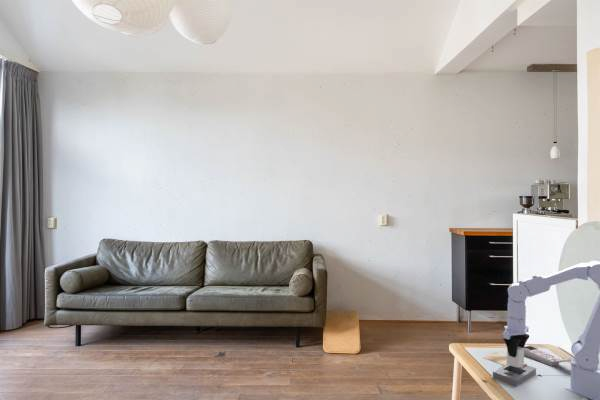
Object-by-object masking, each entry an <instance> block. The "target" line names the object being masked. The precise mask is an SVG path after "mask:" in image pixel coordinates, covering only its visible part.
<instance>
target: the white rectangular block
mask: <svg viewBox="0 0 600 400" xmlns="http://www.w3.org/2000/svg"><path fill="white" fill-rule="evenodd" d="M506 356H507V364H510V365H512V366H515V367H518V368H519V367H521V366H523V365H524V363H525V355H524V348H521V347H518V348H517V354H516V357H512V356H509V354H508V349H507V348H506Z"/></svg>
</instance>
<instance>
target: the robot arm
mask: <svg viewBox="0 0 600 400" xmlns="http://www.w3.org/2000/svg"><path fill="white" fill-rule="evenodd" d="M589 278H590V280H591V281H593V282H594V283H595V285H596V286H597V287H596V288H598V289H599V291H600V260H598V259H595V260H588V261H587V262H581V263H577V264H576V265H572V266H570V267H568V268H565V269H563V270H560V271H557V272H555V273H553V274H552V273H551V274H550V275H547V276H544V275H542V274H540V275H539V274H538V275H536V274H534V275H532V276H531V277H530V278H527V279H524V280H521V279H520V280H518V282H513V283H511V284H510V285H509V286H508V288H507V294H508V298H507V316H506V317H507V318H506V325H504V327H503V329H504V331H503V333H502V339H503V341H504V343H505V345H506V350H507V349H508V354H509V356H512V357H516V354H517V348H518V347H521V348H524V346H525V345H526V343H527V341H528V340H529V338H530V334H527V333H529V328H530V327H529V326H528V325H526V317H527V316H526V312H527V311H526V310H527V306H526V300H527V297H535V296H537V295H540V294H543V293H545V292H548V291H550V289H551V287H552V286H554V285H559V284H561V283H565V282H568V281H571V280H574V279H579V280H584V281H589ZM577 339H578V340H577V341H575V342H573V344H571V348H570V350H571V353H572V355H573V356H574V357H572V358H573V360H571V361H570V385H567V386H566V387H565V388H564V389H565V390H567V391H569V392H572V393H576V394H578V395H581V396H583V397H585V398H587V399H589V400H600V369H599V364H600V359H599V354H600V294H599V295H598V297H597V300H596V303H595V305H594V307H593V309H592V312H591V314H590V316H589V318H588V321H587V322H586V326H585V328H584V331H583V333H582V334H580V335H579V337H578V338H577Z"/></svg>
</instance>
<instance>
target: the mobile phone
mask: <svg viewBox="0 0 600 400" xmlns="http://www.w3.org/2000/svg"><path fill="white" fill-rule="evenodd" d="M524 357H528V358H530V359H532V360H534V361H537V362H539V363H542V364H544V365H547V366H550V367H553V366H558V365H559V364H560V363H566V362H571V360H573V358H574V357H572V358H571V357H570V358H564V359H562V358H559V357H556V356H555V355H553V354H549V353H547V352H545V351H543V350H540V349H538V347H534V346H532V345H528V344H525V346H524Z"/></svg>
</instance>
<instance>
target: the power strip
mask: <svg viewBox="0 0 600 400" xmlns="http://www.w3.org/2000/svg"><path fill="white" fill-rule="evenodd" d="M535 375H537V368H536V367H533V366H530V365H528V363H526V362H524V365H523V366H521V367H519V368H518V367H515V366H512V365H510V364H506V365H501V367H499V368H497V369H495V370H493V371H492V378H493V379H496V380H498V381H501V382H503V383H506V384H509V385H511V386H514V387H518V386H520V385H522V384H523V383H525V382H526V381H528V380H529V379H530V378H532V377H534V376H535Z"/></svg>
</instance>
